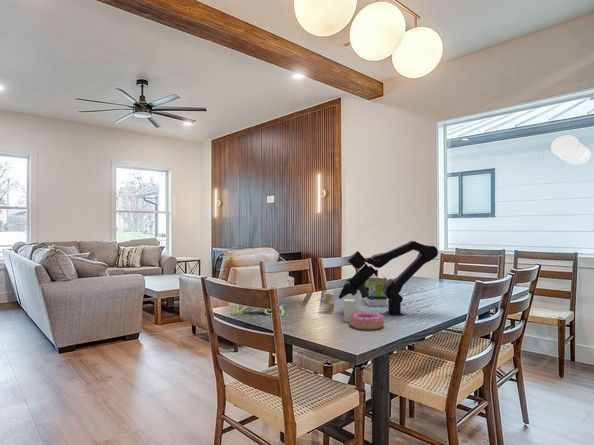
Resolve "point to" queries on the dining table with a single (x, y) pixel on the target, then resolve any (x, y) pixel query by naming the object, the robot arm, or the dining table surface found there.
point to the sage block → (348, 308)
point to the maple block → (328, 302)
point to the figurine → (261, 310)
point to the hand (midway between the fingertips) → (339, 298)
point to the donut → (366, 320)
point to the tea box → (376, 291)
